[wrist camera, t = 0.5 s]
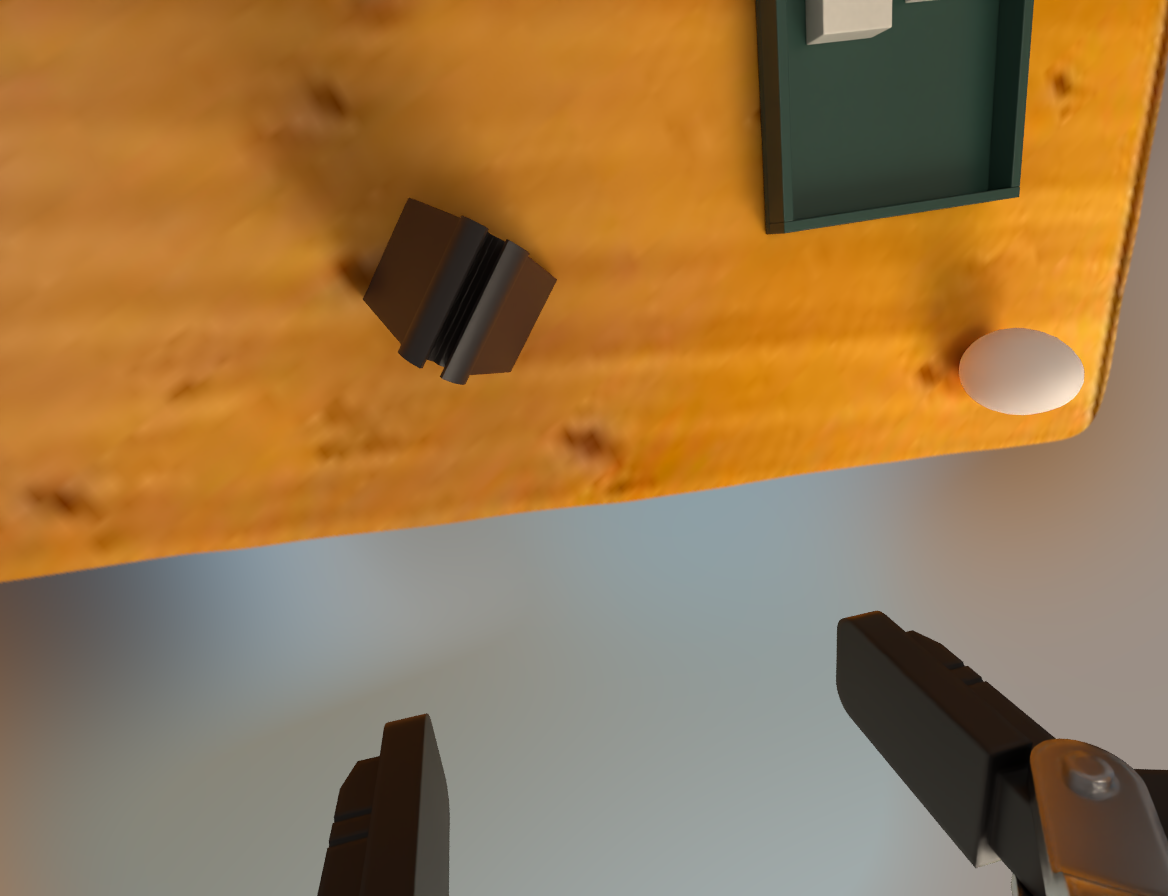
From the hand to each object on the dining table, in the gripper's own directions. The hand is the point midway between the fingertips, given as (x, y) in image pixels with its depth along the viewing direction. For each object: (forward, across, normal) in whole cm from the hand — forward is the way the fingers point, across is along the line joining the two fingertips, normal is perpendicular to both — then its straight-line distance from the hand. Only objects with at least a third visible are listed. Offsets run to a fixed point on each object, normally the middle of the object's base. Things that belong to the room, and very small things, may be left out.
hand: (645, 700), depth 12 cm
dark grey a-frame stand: (+28, +2, -6) cm, 29 cm away
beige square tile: (+27, -21, -18) cm, 39 cm away
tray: (+28, -24, -16) cm, 40 cm away
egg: (+28, -31, +3) cm, 42 cm away
